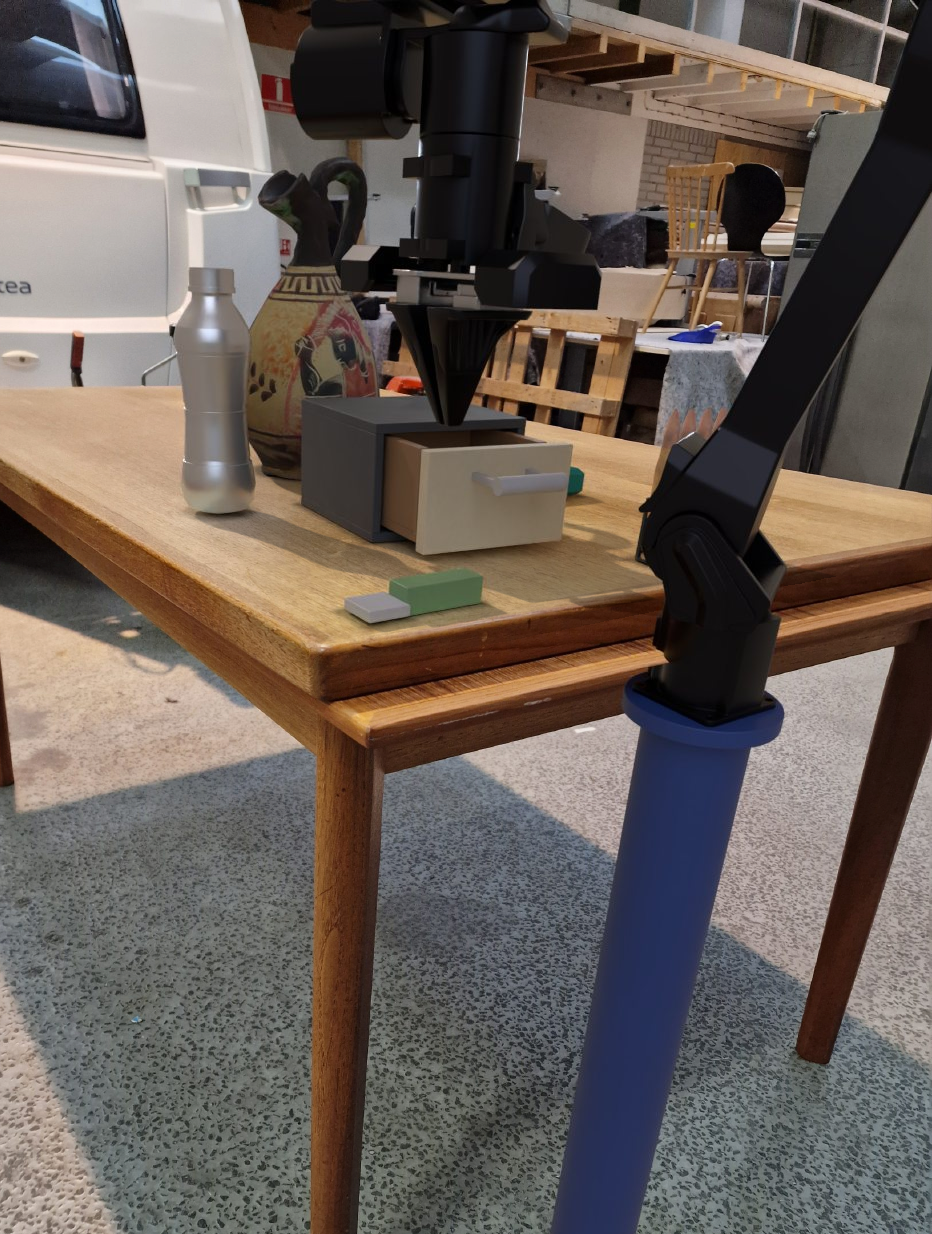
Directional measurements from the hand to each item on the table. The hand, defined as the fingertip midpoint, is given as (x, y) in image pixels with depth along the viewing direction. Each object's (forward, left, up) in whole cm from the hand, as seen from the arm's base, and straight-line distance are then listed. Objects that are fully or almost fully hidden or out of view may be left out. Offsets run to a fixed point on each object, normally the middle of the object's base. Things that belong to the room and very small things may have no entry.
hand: (449, 425), depth 62 cm
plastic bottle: (+30, +3, -12) cm, 32 cm away
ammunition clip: (+1, -27, -12) cm, 29 cm away
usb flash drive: (0, +2, -12) cm, 12 cm away
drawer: (+12, -11, -11) cm, 20 cm away
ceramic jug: (+43, -14, -12) cm, 47 cm away
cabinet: (+22, -12, -12) cm, 28 cm away
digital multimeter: (+29, -31, -12) cm, 44 cm away
